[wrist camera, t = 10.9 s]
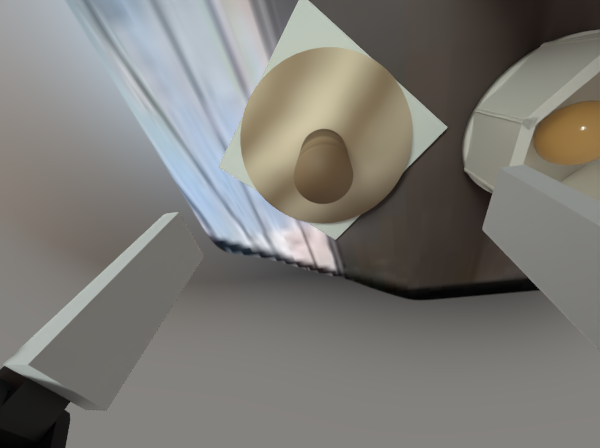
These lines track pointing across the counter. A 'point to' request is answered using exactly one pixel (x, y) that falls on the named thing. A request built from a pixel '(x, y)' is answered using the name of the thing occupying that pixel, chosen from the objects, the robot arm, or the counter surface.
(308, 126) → the lid
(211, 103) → the counter surface
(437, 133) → the mat
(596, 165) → the bowl
